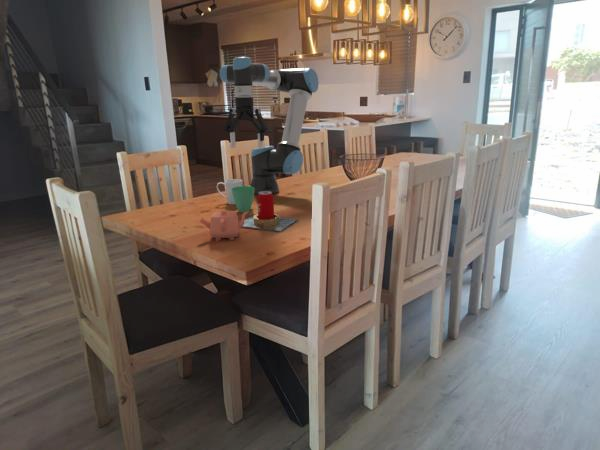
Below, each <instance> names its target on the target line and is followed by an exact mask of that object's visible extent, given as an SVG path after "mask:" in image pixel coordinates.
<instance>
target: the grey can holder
mask: <svg viewBox="0 0 600 450" xmlns="http://www.w3.org/2000/svg"><path fill="white" fill-rule="evenodd" d="M298 221H299V219H298V218H290V217H289V218H288V217H284V216H283V217H281V216H280V214H278V213H275V212H274V218H271V219H259V218H258V213H257V214H253V215H251V216H249V217H247V218H245V221H244V225H243V226H242V227H241V228H243V229H252V230H259V231H260V230H261V231H266V232H267V231H268V232H276V233H281V232H283V231H284V230H286V229H287V228H289V227H290V226H292V225H294V224H295V223H297V222H298Z"/></svg>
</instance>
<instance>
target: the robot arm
mask: <svg viewBox="0 0 600 450" xmlns="http://www.w3.org/2000/svg"><path fill="white" fill-rule="evenodd" d="M219 77H220V79H221V82H223V83H226V84H234V85H233V86H234V96H235V98H234V103H235V108H230V109H229V113H228V117H227V120H226V123H225V126H224V129H223V130H224V132H227V133H228V140H229V141H230V148H231V149H234V148H237V147H236V144H237V143H236V132H235V131H234V130H235V129H236V128H237V126H238V125H239V123H240V122H241V121H243V120H245V121H248V120H249V122H251V124H252V125H253V126H254V127H255V129H256V130H257V132H258V133H257V146H258V147H255V148H252V149H251V154H250V155H251V156H250V158H251V171H252V172H251V173H252V175H251V176H252V178H251V182H250V185H249V186H251V187H254V189H255V190H254V195H258V193H259V192H261V191H271V192H272V194H273V195H274V194H277V193H278V192H279V191H280V186H279V184H278V181H277V179H276V173H277V174H284V175H285V174H286V175H295V174H297V173H299V171H300V170H301V168H303V164H304V154H303V153H302V151H301V147H300V146H299V145H300V144H299V143H300V139H301V134H302V130H303V129H302V128H303V125H304V119H305V114H306V110H307V105H308V101H309V100H311V98H312V95H313V94H314V93H316V92H318V90H319V78H318V74H317V72H316V71H315V69H314V68H312V67H297V68H283V69H269V67H268V65H266V64H265V63H262V62H259V63H258V62H253V63H252V59H251V57H250V56H237V57H234V58H233V59H232V64H225V65H222V66H221V67H220V69H219ZM253 86H256V87H258V86H259V87H264V88H265V87H266V88H267V89H269V90H270V91H271V90H272V91H277V92H283V93H288V94H289V95H290V99H289V105H288V109H287V113H286V119H285V123H284V129H283V132H282V137H281V141H280V142H278V143H277V146H276V148H275V146H274V145H267V146H264V142H263V141H265V133H266V132H268V131H269V128H268V126H267V123H266V122H265V120H264V117H263V115H262V112H261V108H256V109H254V98H253V96H254V89H253ZM235 115H236V116H235ZM254 115H255V116H254Z"/></svg>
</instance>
